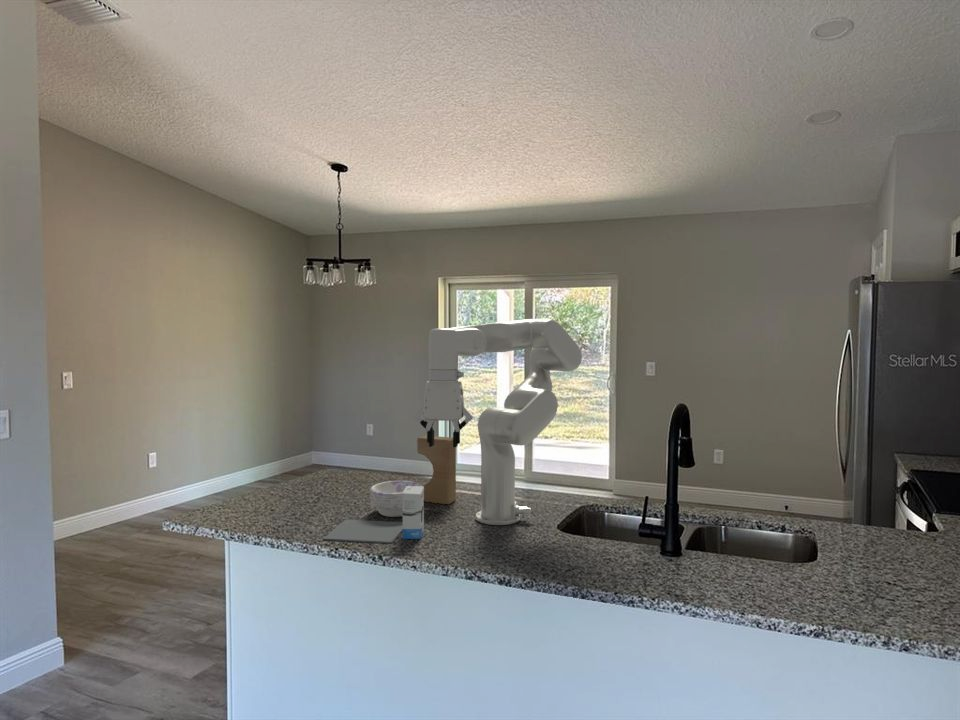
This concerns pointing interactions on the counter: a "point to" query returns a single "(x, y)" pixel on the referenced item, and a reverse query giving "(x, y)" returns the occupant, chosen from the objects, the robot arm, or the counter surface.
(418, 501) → the ink box
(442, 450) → the decorative block
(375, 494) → the paper bowls
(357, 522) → the mat
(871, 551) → the counter surface
